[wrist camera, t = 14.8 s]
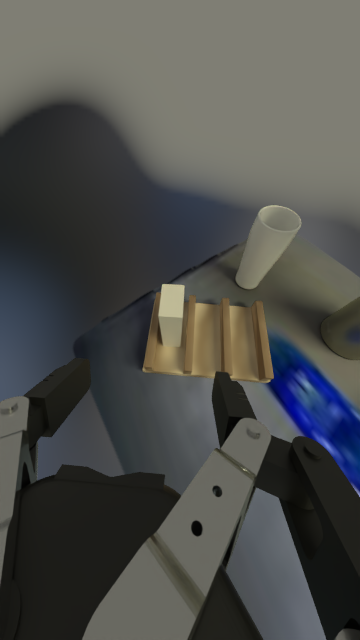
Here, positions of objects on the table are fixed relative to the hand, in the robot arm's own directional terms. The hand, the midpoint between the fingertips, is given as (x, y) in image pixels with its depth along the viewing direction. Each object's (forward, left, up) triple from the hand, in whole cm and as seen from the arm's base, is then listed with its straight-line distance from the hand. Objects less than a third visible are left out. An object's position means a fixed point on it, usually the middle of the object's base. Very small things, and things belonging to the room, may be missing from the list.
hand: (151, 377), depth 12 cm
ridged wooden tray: (-6, -11, -20) cm, 24 cm away
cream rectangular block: (0, -11, -19) cm, 22 cm away
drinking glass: (-15, -26, -21) cm, 37 cm away
